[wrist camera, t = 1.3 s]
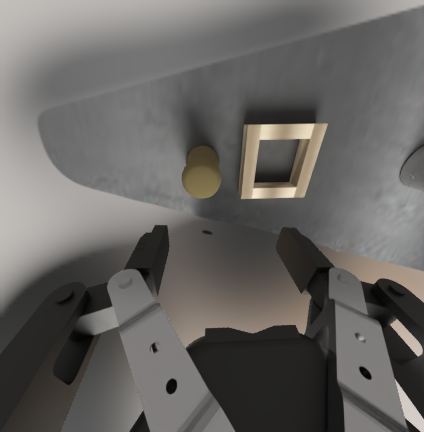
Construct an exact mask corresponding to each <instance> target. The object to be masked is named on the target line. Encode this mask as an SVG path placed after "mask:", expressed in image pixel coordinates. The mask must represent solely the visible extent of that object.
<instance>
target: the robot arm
mask: <svg viewBox="0 0 424 432" xmlns="http://www.w3.org/2000/svg"><path fill="white" fill-rule="evenodd" d="M400 179H401V182H402V183H403V184H404V185H406V186H408V187H411V188H414V189H417V190H421V191H424V146H422V147H421V148H419V149H418V150H417V151H416V152H415V153H413V154H412V156H411V157H410V158H409V159H408V160H407V162H406V163H405V164H404V166H403V168H402V171H401V174H400ZM276 251H277V253H278V255H279V257H280V258H281V260H282V261H283V263H284V265H285V267H286V268H287V270H288V272H289V274H290V275H291V277H292V279H293V280H294V282H295V284H296V286H297V287H298V289H299V291H300V293H301V294H310V295H311V299H310V303H309V310H308V318H307V326H306V331H305V334H304V335H303V334H300V333H299V332H298V330H297V328H296V325H281V326H273V327H270V328H267V329H265V330H262V331H259V332H257V333H253V334H252V333H248V332H244V331H240V330H236V329H232V328H206V330H205V336H203V337H200V338H198V339H197V340H195V341H193V342H192V343H191V344H189V345H188V346H187V347H186V348H185V347H184V345H183V344H182V342H181V340H180V338H179V337H178V335H177V333H176V331H175V330H174V328H173V326H172V324H171V322H170V321H169V319H168V317H167V315H166V314H165V312H164V310H163V308H162V307H161V305H160V304H159V303H158V304H157V303H156V301H155V299H154V297H157V296H158V293H159V289H160V285H161V280H162V276H163V272H164V269H165V264H166V261H167V256H168V252H169V236H168V228H167V225H155V227H154V228H153V230H152V233H146V234H144V235H143V236H142V237H141V238H140V240H139V242H138V244H137V246H136V247H135V250H134V251H133V253H132V255H131V257H130V259H129V261H128V262H127V264H126V266H125V268H124V270H123V271H120V272H118V273H117V274H115V275H114V276H113V277H112V278H111V279H110V280H109V282H107V283H104V284H100V285H97V286H93V287H89V288H86V287H85V285H84V284H82V283H80V282H73V283H69V284H66V285H63V286H61V287H60V288H58V289H56V290H54V291H53V292H52V293H51V294H50V295H49V296H48V297H47V298H46V299H45V300H44V301H43V302H42V304H41V305H40V306H39V307H38V309H37V310H36V311H35V312H34V313H33V315H32V316H31V317H30V318H29V320H28V321H27V322H26V323H25V325H24V326H23V327H22V328H21V330H20V331H19V332H18V333H17V334H16V336H15V337H14V338H13V339H12V341H11V342H10V343H9V344H8V346H7V347H6V348H5V349H4V350H3V352H2V353H1V354H0V432H60V431H61V428H62V426H63V423H64V421H65V419H66V417H67V414H68V412H69V409H70V407H71V404H72V402H73V400H74V397H75V395H76V392H77V390H78V388H79V385H80V383H81V381H82V378H83V376H84V373H85V371H86V369H87V366H88V364H89V361H90V359H91V357H92V354H93V352H94V349H95V347H96V345H97V342H98V340H99V337H100V335H101V333H102V332H104V331H107V330H109V329H112V328H115V327H118V326H119V332H120V336H121V339H122V342H123V345H124V349H125V352H126V355H127V358H128V361H129V365H130V368H131V371H132V374H133V378H134V380H135V384H136V387H137V390H138V394H139V397H140V400H141V403H142V407H143V412H142V413H141V415H140V416H139V418H138V419H137V421H136V422H135V424H134V425H133V427H132V428H131V430H130V432H420V431H419V430H418V429H417V428H416V427H415V426H413V425H412V424H411V423H410V422H409V421H408V420H407V419H405V417H404V413H403V410H402V406H401V402H400V398H399V394H398V390H397V386H396V382H395V379H396V381H397V382H398V383H399V385H400V386H401V387H402V389H403V390H404V392H405V393H406V395H407V396H408V398H409V399H410V400H411V401H412V403H413V404H414V406H415V407H416V409H417V410H418V411H419V413H420V414H421V416H422V417H423V419H424V303H423V302H422V301H421V300H420V299H419V298H417V297H416V296H415V295H414V294H413V293H411V292H410V291H409V290H408V289H407V288H405V287H404V286H402V285H400V284H398V283H396V282H394V281H392V280H389V279H379V280H378V281H377V282H376V283H375V284H370V283H366V282H362V281H359V279H358V278H357V277H356V276H355V275H353V274H352V273H350V272H348V271H347V270H344V269H341V268H336V267H335V266H333V264H332V263H331V262H330V261H329V260H328V259H327V258H326V257H325V256H324V255H323V254H322V252H321V251H319V250H318V248H317V247H316V246H315V245H314V244H313V243H312V242H311V240H310V239H308V238H307V237H305V236H304V235H302V234H301V233H300V232H299V231H298V230H297V229H296V228H294V227H283V228H282V230H281V232H280V235H279V238H278V241H277V244H276ZM396 319H398V320H399V321H400V322H401V323H402V324H403V325H404V326H405V328H406V329H407V330H408V331H409V332H410V333H411V334H412V335H413V336H414V337H415V338H416V339H417V340H418V341H419V343H420V344H421V346H422V348H423V353H422V355H420V356H419V357H418V356H417V355H416V354H415V353H414V352H413V351H412V350H411V349H410V347H409V346H408V345H407V344H406V343H405V342H404V341H403V339H402V338H401V337H400V336H399V335H398V334H397V333H396V331H395V330H394V329H393V328H392V327H391V326H390V324H391V323H392V322H394V321H395V320H396Z"/></svg>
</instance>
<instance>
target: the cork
mask: <svg viewBox="0 0 424 432" xmlns="http://www.w3.org/2000/svg"><path fill="white" fill-rule="evenodd" d="M186 164H187V165H186V166H185V168H184V170H183V173H182V183H183V186H184V188H185V190H186V191H187V192H188V193H189V194H190V195H191V196H194V197H196V198H208V197H210V196H212V195H213V194H215V193H216V192H217V190H218V188H219V186H220V184H221V174H220V171H219V169H218V168H219V157H218V155H217V153H216V152H215V151H214V150H213V149H212V148H210V147H209V146H204V145H200V146H196V147H195V148H193V149H192V150H191V151H190V152H189V154H188V156H187V162H186Z"/></svg>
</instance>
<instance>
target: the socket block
mask: <svg viewBox="0 0 424 432" xmlns="http://www.w3.org/2000/svg"><path fill="white" fill-rule="evenodd" d="M326 128H327V124H321V123H310V124H251V125H244V129H243V141H242V154H241V166H240V179H239V192H238V193H239V195H240V197H241V199H253V198H291V197H304V196H305V193H306V190H307V187H308V184H309V181H310V178H311V174H312V171H313V168H314V165H315V162H316V159H317V156H318V153H319V149H320V146H321V143H322V140H323V137H324V134H325V131H326ZM270 139H300V141H299V145H298V149H297V153H296V157H295V161H294V165H293V169H292V173H291V177H290V181H289V182H266V183H254V178H255V170H256V162H257V155H258V147H259V140H270Z"/></svg>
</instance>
